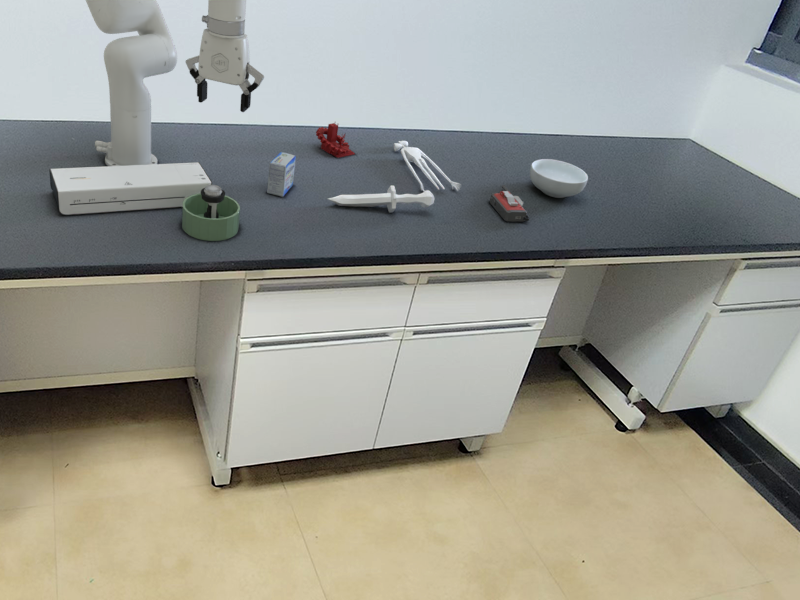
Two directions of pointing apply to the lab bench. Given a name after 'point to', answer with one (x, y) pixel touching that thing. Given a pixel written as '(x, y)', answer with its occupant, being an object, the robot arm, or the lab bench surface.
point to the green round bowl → (210, 219)
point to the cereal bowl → (557, 178)
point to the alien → (420, 163)
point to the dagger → (384, 199)
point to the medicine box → (281, 174)
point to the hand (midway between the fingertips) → (223, 105)
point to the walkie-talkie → (509, 206)
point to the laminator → (125, 187)
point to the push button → (212, 199)
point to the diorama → (333, 141)
